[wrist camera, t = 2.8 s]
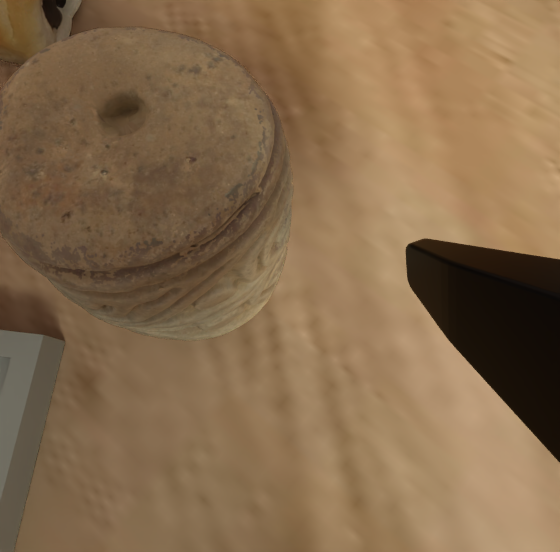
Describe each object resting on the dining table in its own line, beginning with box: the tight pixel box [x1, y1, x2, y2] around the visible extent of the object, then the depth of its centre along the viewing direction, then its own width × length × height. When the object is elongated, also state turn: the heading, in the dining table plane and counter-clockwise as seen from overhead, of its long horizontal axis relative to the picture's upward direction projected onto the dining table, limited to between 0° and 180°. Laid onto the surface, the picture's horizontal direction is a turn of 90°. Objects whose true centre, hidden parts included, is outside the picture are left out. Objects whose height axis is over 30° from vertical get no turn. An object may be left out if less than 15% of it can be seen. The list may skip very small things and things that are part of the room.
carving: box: [0, 27, 293, 341], centre depth 14 cm, size 6×8×12 cm
